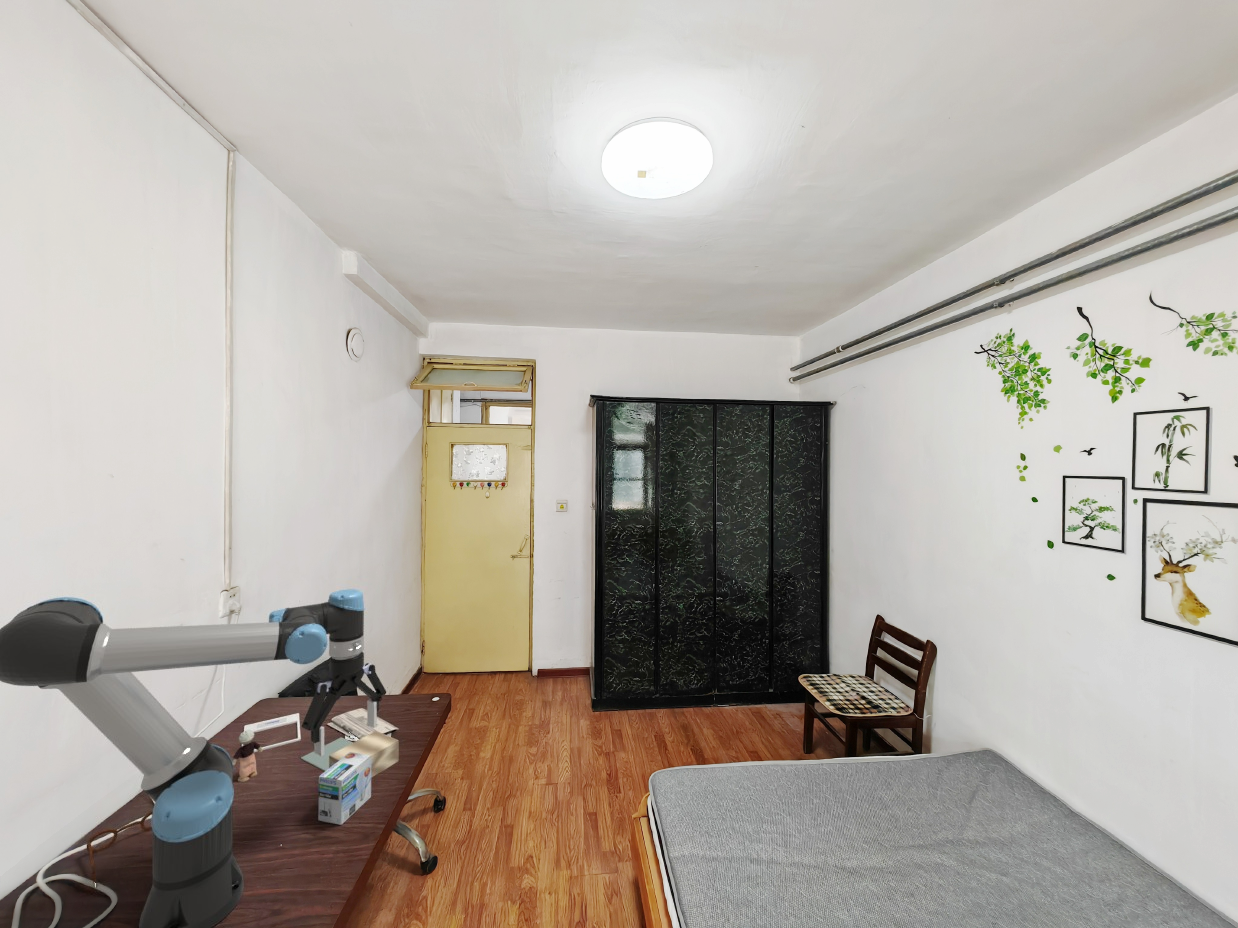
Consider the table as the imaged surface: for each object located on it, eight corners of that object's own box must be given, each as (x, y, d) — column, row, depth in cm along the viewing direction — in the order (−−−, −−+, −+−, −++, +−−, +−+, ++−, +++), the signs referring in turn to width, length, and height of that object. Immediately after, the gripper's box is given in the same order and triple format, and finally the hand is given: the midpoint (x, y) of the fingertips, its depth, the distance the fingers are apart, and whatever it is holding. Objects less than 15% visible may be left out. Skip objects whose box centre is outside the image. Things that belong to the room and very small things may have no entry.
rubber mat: (330, 773, 136) (330, 772, 136) (300, 758, 143) (300, 757, 143) (370, 751, 147) (370, 750, 147) (341, 738, 153) (341, 737, 153)
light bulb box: (341, 826, 117) (341, 780, 117) (316, 821, 119) (317, 776, 119) (372, 795, 128) (372, 754, 128) (349, 791, 129) (349, 750, 129)
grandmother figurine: (253, 767, 138) (253, 722, 138) (264, 769, 138) (265, 724, 137) (226, 785, 131) (226, 737, 131) (238, 787, 130) (238, 739, 130)
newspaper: (325, 726, 161) (325, 718, 161) (362, 714, 171) (363, 707, 171) (361, 750, 148) (362, 741, 148) (399, 736, 158) (400, 728, 158)
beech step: (352, 789, 130) (352, 766, 130) (329, 777, 135) (329, 755, 135) (398, 760, 142) (398, 740, 142) (375, 750, 147) (375, 730, 147)
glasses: (167, 823, 118) (167, 802, 118) (179, 851, 110) (179, 829, 110) (86, 857, 108) (86, 834, 108) (92, 891, 100) (92, 866, 100)
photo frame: (299, 712, 167) (300, 737, 152) (299, 715, 167) (300, 741, 152) (244, 724, 159) (240, 753, 144) (244, 728, 159) (240, 757, 144)
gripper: (303, 677, 110) (303, 771, 110) (400, 640, 132) (400, 719, 132) (284, 669, 114) (284, 761, 114) (382, 635, 135) (382, 712, 136)
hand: (346, 739), depth 123 cm, fingers open, 13 cm apart
